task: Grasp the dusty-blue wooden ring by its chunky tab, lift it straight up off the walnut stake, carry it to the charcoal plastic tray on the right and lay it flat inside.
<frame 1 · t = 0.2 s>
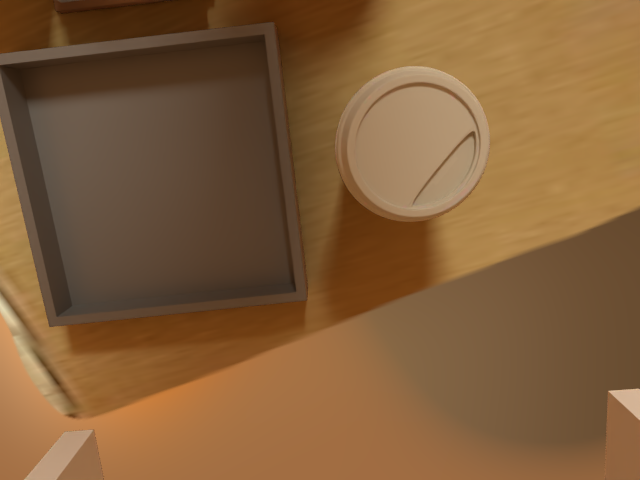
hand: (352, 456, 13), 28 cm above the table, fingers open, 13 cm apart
coffee cup: (388, 141, 39), on the table
tray: (167, 179, 39), on the table
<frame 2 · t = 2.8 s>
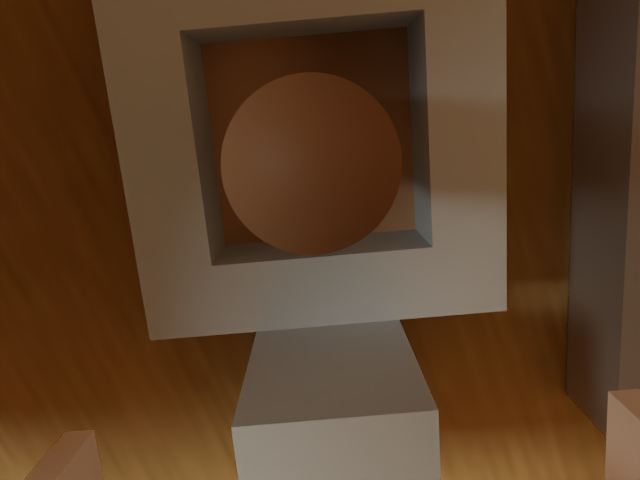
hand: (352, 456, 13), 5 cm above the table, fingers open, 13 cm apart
ring: (312, 140, 16), point 1 cm above the table, touching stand
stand: (312, 139, 16), on the table
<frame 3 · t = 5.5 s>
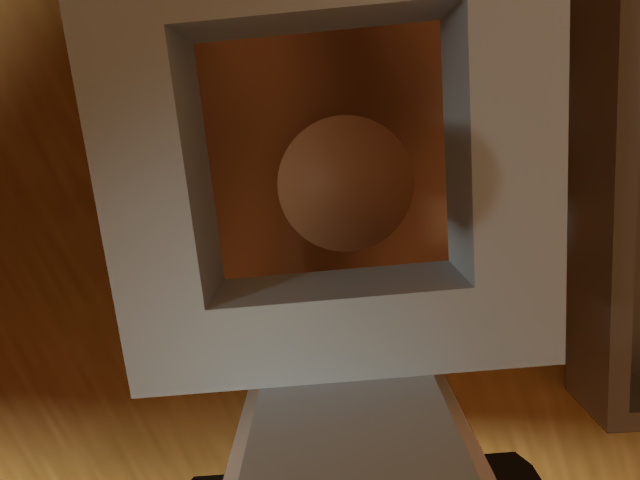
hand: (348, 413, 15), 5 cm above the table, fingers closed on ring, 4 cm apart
ring: (326, 156, 13), point 6 cm above the table, touching gripper
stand: (336, 158, 19), on the table
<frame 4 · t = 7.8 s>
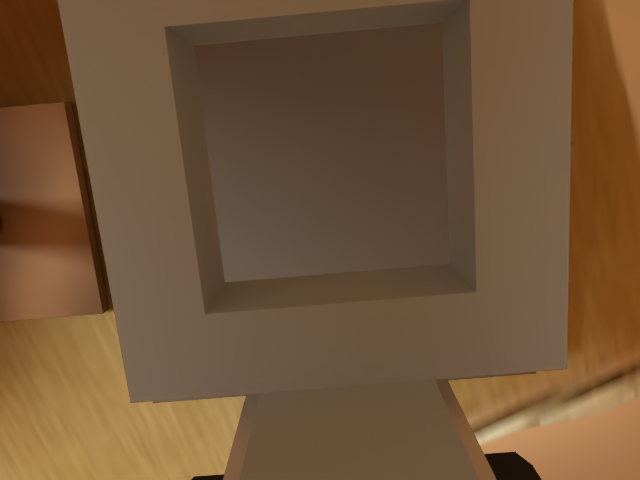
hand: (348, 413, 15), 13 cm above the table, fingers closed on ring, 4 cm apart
ring: (327, 159, 13), point 14 cm above the table, touching gripper
tray: (326, 190, 27), on the table
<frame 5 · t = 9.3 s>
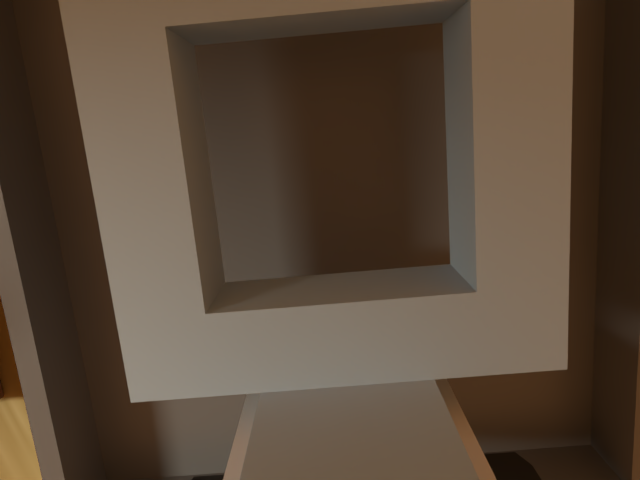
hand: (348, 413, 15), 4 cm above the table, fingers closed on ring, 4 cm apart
ring: (327, 159, 13), point 4 cm above the table, touching gripper
tray: (327, 222, 18), on the table
when the fingers open (2 cm above the table, at t = 10.3 s): ring drops 2 cm, resting on tray.
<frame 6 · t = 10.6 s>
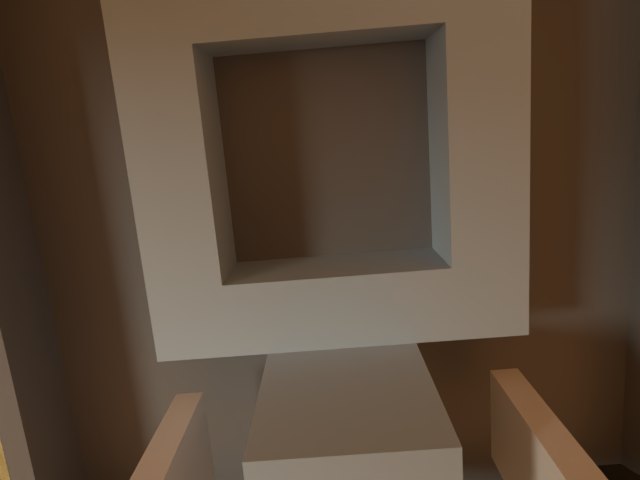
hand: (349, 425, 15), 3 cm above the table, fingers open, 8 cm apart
ring: (326, 155, 15), point 1 cm above the table, touching tray
tray: (333, 233, 16), on the table
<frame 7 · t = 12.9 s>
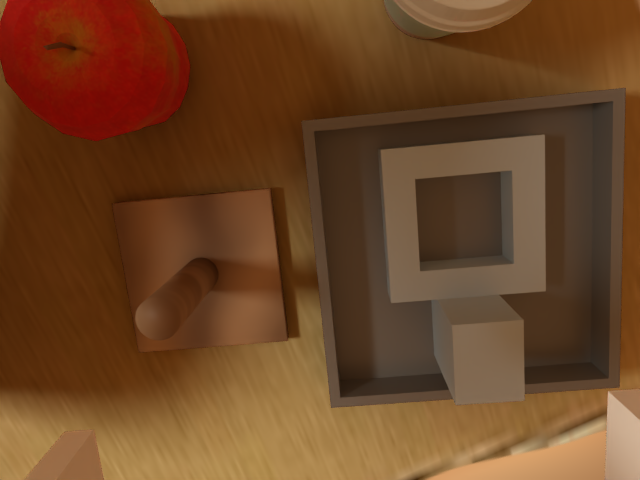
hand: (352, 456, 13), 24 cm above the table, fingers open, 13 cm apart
apple: (146, 72, 35), on the table
ring: (456, 216, 35), point 1 cm above the table, touching tray
tray: (456, 249, 36), on the table
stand: (204, 271, 37), on the table
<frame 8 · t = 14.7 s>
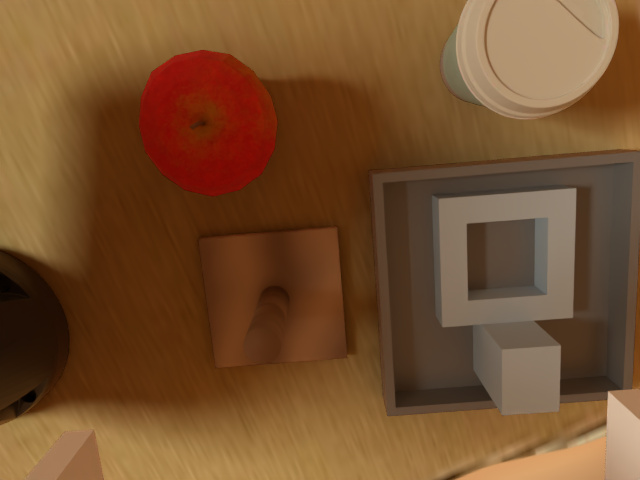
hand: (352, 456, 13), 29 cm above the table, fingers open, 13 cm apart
apple: (231, 125, 40), on the table
coffee cup: (477, 62, 39), on the table
ring: (496, 252, 41), point 1 cm above the table, touching tray
tray: (494, 279, 42), on the table
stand: (275, 297, 42), on the table
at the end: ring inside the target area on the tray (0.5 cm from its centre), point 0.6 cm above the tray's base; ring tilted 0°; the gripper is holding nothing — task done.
